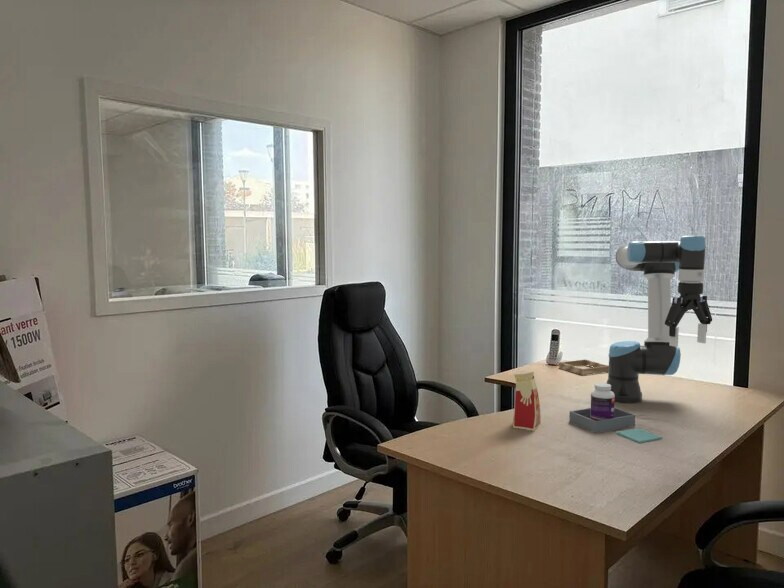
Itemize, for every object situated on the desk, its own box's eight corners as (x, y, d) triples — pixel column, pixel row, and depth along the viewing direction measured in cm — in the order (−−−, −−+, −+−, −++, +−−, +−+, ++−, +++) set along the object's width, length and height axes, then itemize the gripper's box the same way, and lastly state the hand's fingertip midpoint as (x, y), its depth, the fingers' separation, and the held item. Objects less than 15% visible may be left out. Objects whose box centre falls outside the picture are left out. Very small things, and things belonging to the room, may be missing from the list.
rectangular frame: (569, 422, 213) (569, 411, 213) (607, 415, 221) (608, 405, 220) (595, 433, 201) (595, 421, 201) (635, 425, 209) (635, 414, 208)
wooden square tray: (559, 368, 297) (559, 362, 297) (585, 365, 304) (585, 359, 304) (582, 375, 282) (582, 369, 281) (609, 372, 289) (609, 366, 288)
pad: (616, 433, 201) (616, 432, 201) (638, 429, 205) (638, 427, 205) (639, 443, 192) (639, 441, 192) (661, 438, 196) (661, 436, 196)
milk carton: (540, 423, 212) (541, 369, 210) (535, 431, 204) (536, 374, 202) (515, 420, 216) (516, 366, 214) (509, 427, 207) (510, 372, 205)
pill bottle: (615, 428, 206) (617, 388, 205) (591, 426, 208) (592, 387, 206) (611, 421, 214) (613, 382, 213) (588, 419, 216) (589, 381, 214)
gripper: (674, 284, 188) (671, 349, 190) (726, 281, 198) (722, 343, 201) (654, 282, 195) (652, 345, 197) (705, 279, 205) (702, 339, 207)
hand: (687, 344), depth 199 cm, fingers open, 13 cm apart
